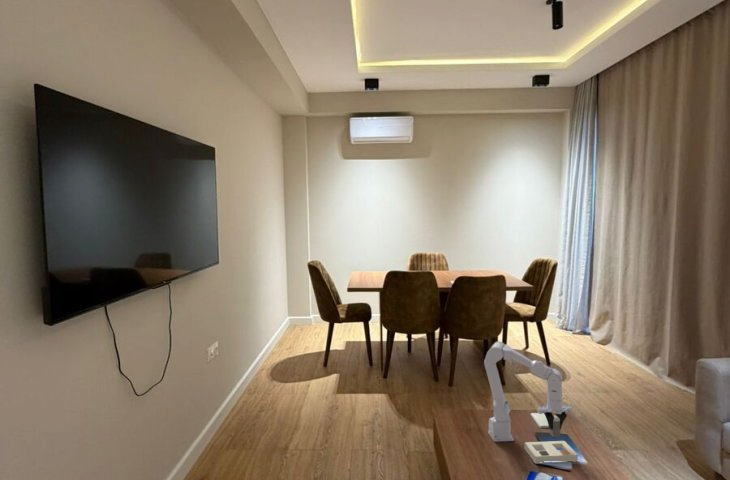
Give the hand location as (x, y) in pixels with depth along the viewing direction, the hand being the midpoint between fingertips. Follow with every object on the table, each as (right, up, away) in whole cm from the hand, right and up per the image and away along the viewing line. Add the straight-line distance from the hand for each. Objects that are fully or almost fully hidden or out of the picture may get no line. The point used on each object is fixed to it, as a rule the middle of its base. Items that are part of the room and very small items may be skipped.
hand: (554, 428), depth 165 cm
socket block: (-3, -10, -3) cm, 11 cm away
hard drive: (+7, -9, +24) cm, 27 cm away
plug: (0, -3, 0) cm, 3 cm away
